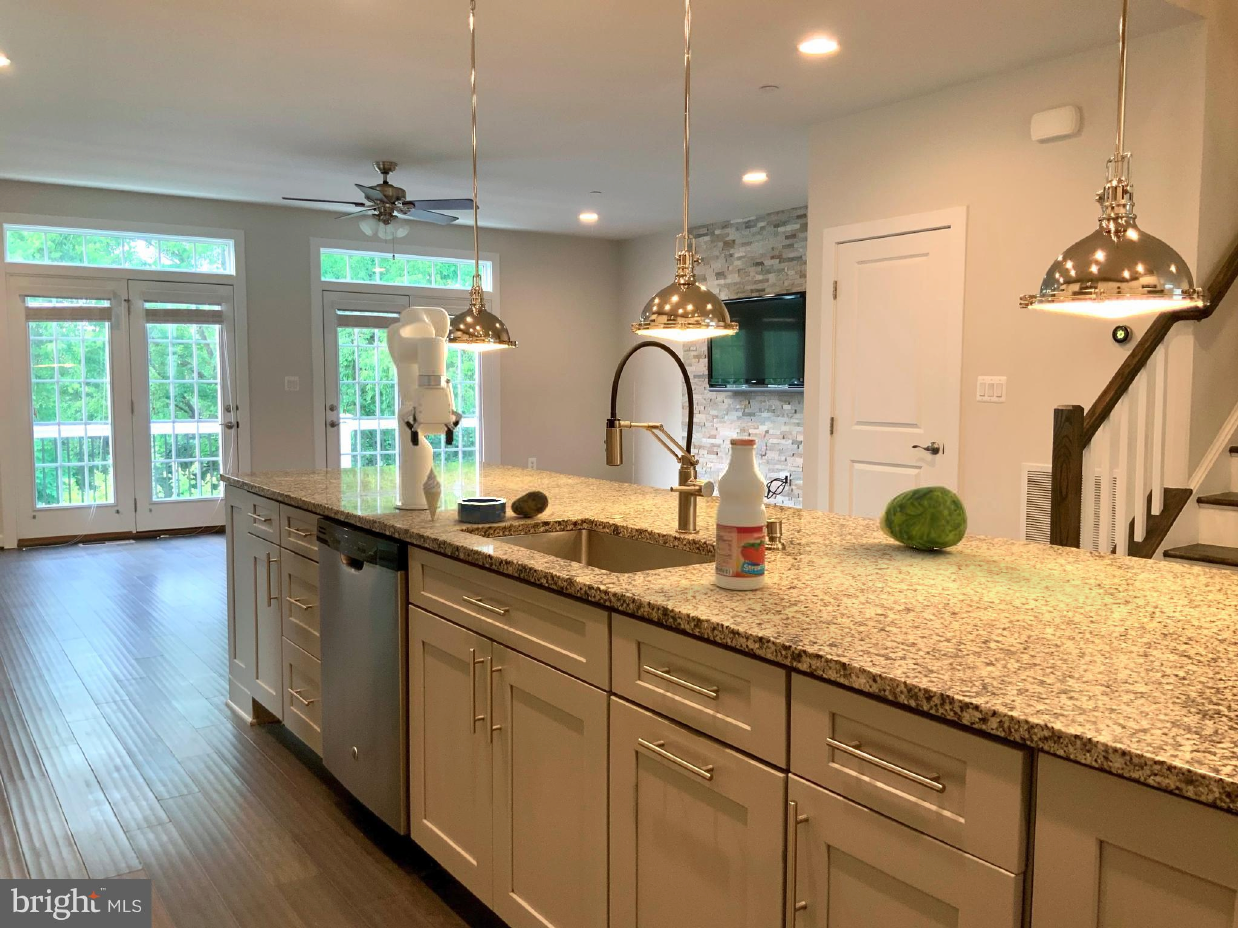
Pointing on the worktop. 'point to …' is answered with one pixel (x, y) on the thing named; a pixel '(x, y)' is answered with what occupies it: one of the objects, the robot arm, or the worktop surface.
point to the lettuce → (925, 518)
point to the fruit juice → (741, 521)
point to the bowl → (481, 510)
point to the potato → (530, 504)
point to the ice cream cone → (432, 492)
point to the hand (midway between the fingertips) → (432, 445)
